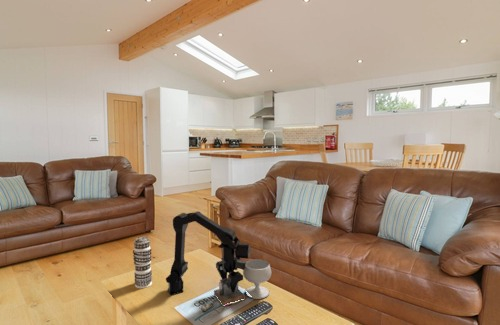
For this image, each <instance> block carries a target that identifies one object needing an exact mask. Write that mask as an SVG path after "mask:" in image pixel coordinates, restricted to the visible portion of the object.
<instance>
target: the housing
mask: <svg viewBox="0 0 500 325" xmlns="http://www.w3.org/2000/svg"><path fill="white" fill-rule="evenodd" d="M218 289H219V295H220V296H221V295H223V296H224V297H225V296H228V295H232V294H235V293H238V289H239V282H238V283H237V286H236V289H235V292H233V293H232V291H231V288H230V285H229V282H228V277H227V278H225V279H222V278H221V279H220V280H219V282H218Z"/></svg>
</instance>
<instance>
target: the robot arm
mask: <svg viewBox="0 0 500 325" xmlns="http://www.w3.org/2000/svg"><path fill="white" fill-rule="evenodd" d="M194 222H195V223H197V224H198V225H200V226H201V227H203V228H204V229H207V231H209V232H211V233H212V234H214V235H215V236H216V238H217V239H218V240H219V241H220V242H221V243H220V244H219V245H218V248H219V249H222V257H220V259H221V260H220V261H217V262H216V263H215V268H216V271H217V272H218V274H219V277H220V278H221V280H222V279H225V278H228V282H229V285H230V288H231V291H232V293H233V292H235V289H236V286H237V283H238V284H239V282H241V281H244V275H243V273H241V272H239V271H238V269H240V270H244V269H245V265H246V261H244V260H243V259H248V260H249V259H250V258H251V255H252V254H251V253H252V252H251V251H252V249H251V246H250V243H241V241H240V239H239V238H238V236H237V235H236V234H237V233H236V231H235V230H234V229H232V228H230V227H227V226H222V225H220V224H219V223H217V222H216V221H214V220H212V219H211V218H209V217H207V216H206V215H204V214H203V213H202V212H201V211H199V210H198V211H195V212H194V211H193V212H188V213H186V212H181V213H180V214H179V213H178V214H177V215H176V216H175V217H173V219H172V226H173V230H174V232H175V235H174V237H175V239H174V240H175V241H174V259H173V263H172V265H171V269H170V274H169V275H168V276H167V277H166V278H165V281H166V283H167V284H168V285H167V286H168V287H167V291H168V293H169V295H170V296H173V295H176V294H182V293H183V292H184V280H183V278H182V277H183V276H184V274H185V273H186V272H187V270H188V269H189V268H188V264H189V262H188V261H186V260H185V244H186V231H187V229H188V226H189V224H191V223H194Z"/></svg>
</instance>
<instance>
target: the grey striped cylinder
mask: <svg viewBox="0 0 500 325" xmlns="http://www.w3.org/2000/svg"><path fill="white" fill-rule="evenodd" d="M150 241H151V239H150V238H149V237H148V236H138V237H137V238H135V240H134V241H133V244H134V247H133V248H134V249H133V251H132V254H133V255H132V256H133V264H134V267H135V269H134V285H135V286H134V287H135V288H137V289H144V288H147V287H150V286H151V285H152V284H153V280H152V278H153V276H152V267H151V263H152V248H151V244H150V243H151V242H150Z"/></svg>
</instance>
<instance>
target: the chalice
mask: <svg viewBox="0 0 500 325" xmlns="http://www.w3.org/2000/svg"><path fill="white" fill-rule="evenodd" d="M245 263H246V265H245V269H244V270H243V269H242V270H243V271H242V272H243V273H242V275H243V279H245V280H246V281H248V283H252V284H254V285H252V286H249V287H247V288H246V289H245V291H247V292H248V293H249V294H250V295H251V296H252V298H251V299H254V300H261V299H265V298H267V297H268V296H269V295H270V291H269V289H268V288H267V287H264V286H261V284H263V283H265V282H267V281H269V279H270V278H271V277H272V269H271V264H270V262H268V261H267V260H264V259H261V258H259V259H258V258H255V259H254V258H253V259H250V260H249V259H248V260H247V261H245Z"/></svg>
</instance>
